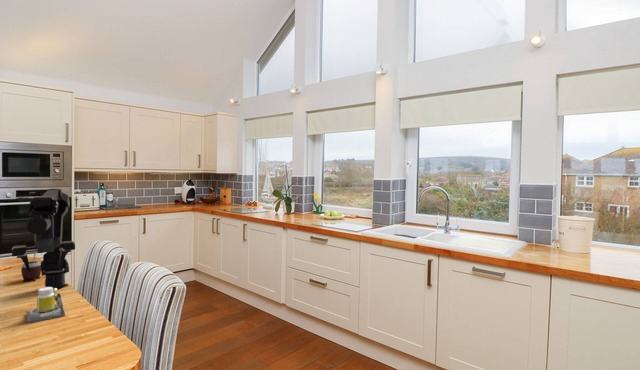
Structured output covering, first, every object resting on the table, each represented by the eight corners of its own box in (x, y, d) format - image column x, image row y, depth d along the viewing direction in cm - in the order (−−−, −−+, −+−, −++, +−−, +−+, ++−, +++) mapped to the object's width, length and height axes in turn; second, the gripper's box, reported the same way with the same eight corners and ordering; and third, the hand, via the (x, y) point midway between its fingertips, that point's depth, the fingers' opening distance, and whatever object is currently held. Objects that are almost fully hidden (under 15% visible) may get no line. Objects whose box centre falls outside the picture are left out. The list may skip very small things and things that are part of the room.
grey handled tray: (25, 301, 135) (24, 291, 135) (59, 295, 142) (59, 286, 142) (27, 323, 116) (27, 312, 116) (67, 315, 123) (67, 304, 123)
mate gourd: (25, 283, 156) (24, 249, 156) (18, 280, 160) (17, 247, 160) (45, 279, 162) (44, 246, 162) (38, 276, 167) (37, 244, 166)
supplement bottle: (57, 311, 124) (57, 287, 124) (42, 316, 120) (41, 291, 119) (49, 309, 126) (49, 285, 126) (34, 313, 122) (34, 289, 121)
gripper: (11, 235, 122) (12, 280, 122) (76, 230, 134) (77, 270, 135) (11, 231, 130) (12, 273, 131) (73, 226, 142) (73, 264, 143)
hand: (44, 270), depth 135 cm, fingers open, 9 cm apart
